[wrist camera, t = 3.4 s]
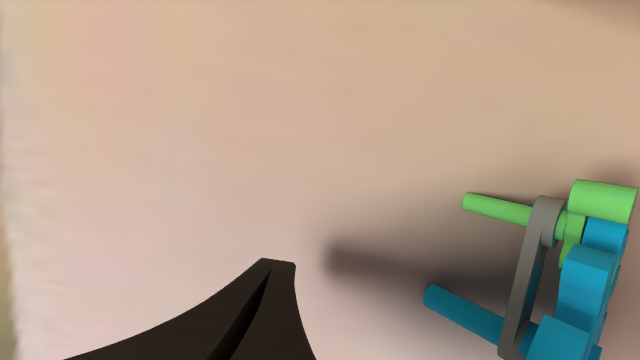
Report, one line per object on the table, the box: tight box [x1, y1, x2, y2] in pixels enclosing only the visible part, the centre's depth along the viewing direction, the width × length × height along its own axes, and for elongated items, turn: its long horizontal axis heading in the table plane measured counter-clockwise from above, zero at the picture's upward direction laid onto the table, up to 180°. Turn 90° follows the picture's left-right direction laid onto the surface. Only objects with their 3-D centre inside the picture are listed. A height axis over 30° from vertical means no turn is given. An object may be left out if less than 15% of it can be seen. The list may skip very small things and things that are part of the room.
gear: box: [424, 179, 638, 360], centre depth 11 cm, size 11×6×10 cm
